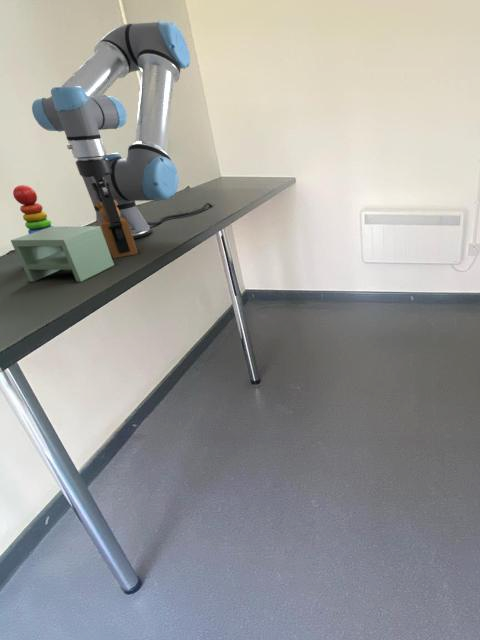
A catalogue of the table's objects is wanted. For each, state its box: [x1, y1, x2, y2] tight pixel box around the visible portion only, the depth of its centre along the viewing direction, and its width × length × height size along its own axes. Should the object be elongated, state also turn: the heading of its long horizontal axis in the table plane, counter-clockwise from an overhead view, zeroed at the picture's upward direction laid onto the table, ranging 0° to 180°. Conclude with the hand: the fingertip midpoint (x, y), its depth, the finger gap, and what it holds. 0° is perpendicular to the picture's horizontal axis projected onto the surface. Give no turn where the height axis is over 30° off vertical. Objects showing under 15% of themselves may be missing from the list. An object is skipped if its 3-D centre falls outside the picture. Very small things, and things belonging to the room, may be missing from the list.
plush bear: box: [96, 200, 139, 259], centre depth 132 cm, size 6×6×14 cm
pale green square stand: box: [10, 225, 115, 283], centre depth 120 cm, size 13×14×10 cm
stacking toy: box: [12, 184, 55, 234], centre depth 133 cm, size 8×8×19 cm
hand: (122, 249), depth 136 cm, fingers closed on plush bear, 5 cm apart
